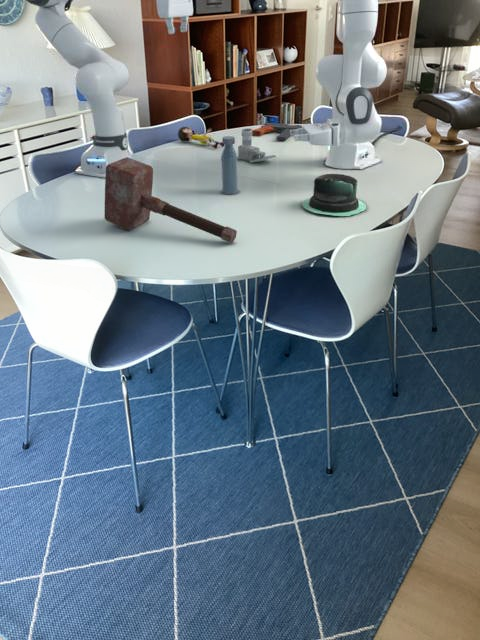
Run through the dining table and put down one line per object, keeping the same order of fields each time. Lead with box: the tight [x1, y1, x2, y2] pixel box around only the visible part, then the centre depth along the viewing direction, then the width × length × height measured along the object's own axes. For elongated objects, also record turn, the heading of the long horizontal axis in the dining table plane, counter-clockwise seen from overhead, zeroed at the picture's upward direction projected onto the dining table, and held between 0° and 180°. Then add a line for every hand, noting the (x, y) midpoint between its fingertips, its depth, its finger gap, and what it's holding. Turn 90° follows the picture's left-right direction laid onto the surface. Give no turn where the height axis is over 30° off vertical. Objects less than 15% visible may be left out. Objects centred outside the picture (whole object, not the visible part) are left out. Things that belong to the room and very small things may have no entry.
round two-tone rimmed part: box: [301, 173, 367, 217], centre depth 174 cm, size 15×19×20 cm
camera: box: [237, 127, 277, 163], centre depth 222 cm, size 9×12×15 cm
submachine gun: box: [252, 122, 303, 141], centre depth 263 cm, size 32×3×25 cm
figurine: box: [177, 126, 225, 150], centre depth 251 cm, size 13×8×25 cm
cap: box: [221, 135, 236, 146], centre depth 182 cm, size 4×4×2 cm
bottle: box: [220, 144, 239, 195], centre depth 186 cm, size 5×5×18 cm
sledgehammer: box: [103, 157, 238, 244], centre depth 155 cm, size 17×10×40 cm
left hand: (177, 32), depth 183 cm, fingers open, 8 cm apart
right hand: (292, 135), depth 188 cm, fingers open, 8 cm apart
